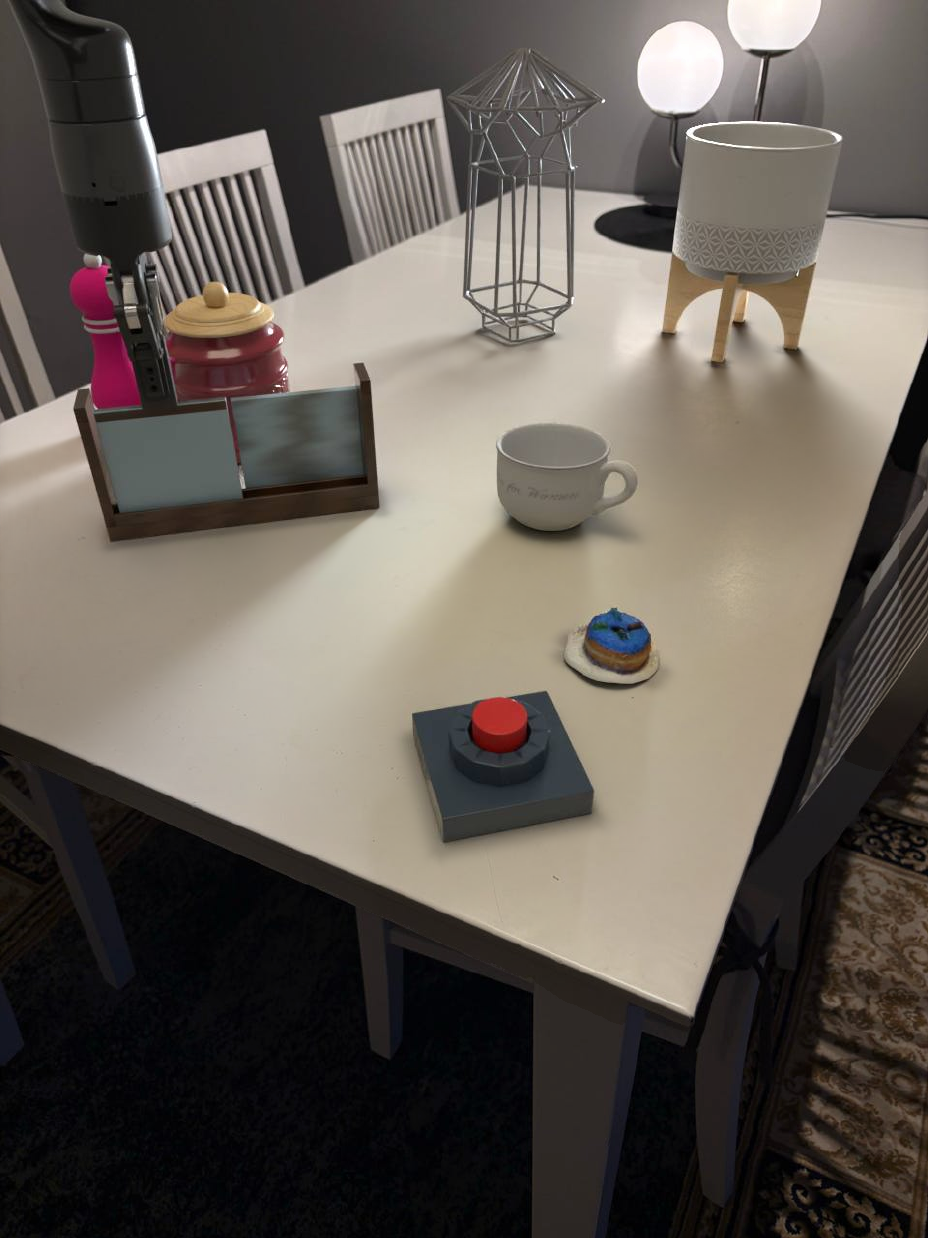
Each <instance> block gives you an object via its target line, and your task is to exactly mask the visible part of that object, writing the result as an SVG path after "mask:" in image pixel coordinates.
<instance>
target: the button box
mask: <svg viewBox="0 0 928 1238" xmlns="http://www.w3.org/2000/svg"><path fill="white" fill-rule="evenodd" d="M505 698H509V699H512V700H514V701H516V702H518V703H519V704H521V705H522V706H523V707H524V709H525V710H526V713H527V732H526V739H525V742H524V743H523V744H522V746H521V747H519V748H518V749H516V750H514V751H512V752H508V753H502V754H498V753H493V752H488V751H485V750H483V749H481V748H480V747H479V746H478V745H477V744H476V743H475V742H474V740H473V737H472V713H473V710H474V708H475V707H476V706H477V705H478V704H479V703H480V702H482V701H484V700H486V699H487V698H484V699H478V700H475V701H473V702H471V703H464V704H458V705H453V706H452V705H451V706H447V707H441V708H435V709H428V710H422V711H416V712H412V713H411V717H412V718H411V722H412V737H413V741H414V743H415V746H416V751H417V755H418V757H419V761H420V765H421V768H422V772H423V775H424V779H425V782H426V786H427V790H428V793H429V796H430V801H431V804H432V807H433V811H434V815H435V818H436V822H437V825H438V829H439V832H440V836H441V839H442V842H444V843H445V842H451V841H455V840H461V839H467V838H471V837H476V836H477V837H478V836H481V835H487V834H491V833H496V832H497V833H498V832H502V831H507V830H513V829H517V828H522V827H527V826H532V825H539V824H543V823H547V822H552V821H553V822H554V821H558V820H564V819H569V818H574V817H578V816H583V815H588V814H591V813H593V805H594V795H595V789H594V787H593V785H592V783H591V781H590V779H589V777H588V775H587V772H586V770H585V768H584V766H583V764H582V762H581V760H580V758H579V755H578V753H577V751H576V749H575V747H574V745H573V743H572V741H571V739H570V737H569V734H568V732H567V730H566V729H565V726H564V724H563V722H562V720H561V718H560V715H559V713H558V711H557V709H556V707H555V705H554V703H553V701H552V699H551V696H550V694H549V692H548V691H547V690H541V691H537V692H530V693H524V694H519V695H513V696H507V697H505Z"/></svg>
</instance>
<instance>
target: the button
mask: <svg viewBox="0 0 928 1238" xmlns="http://www.w3.org/2000/svg"><path fill="white" fill-rule="evenodd" d="M485 699H486V700H484V701H482V702H480V703H479V704H478V705H477V706H476V707H475V708H474V710H473V713H472V737H473V740H474V742H475V743H476V744H477V745H478V746H479V747H480V748H481V749H483V750H485V751H488V752H493V753H498V754H502V753H508V752H512V751H514V750H516V749H518V748H519V747H521V746H522V744H523V743H524V742H525V739H526V732H527V713H526V710H525V709H524V707H523V706H522V705H521V704H519V703H518V702H516V701H514V700H512V699H509V698H506V697H503V696H497V697H490V698H489V697H488V698H485Z"/></svg>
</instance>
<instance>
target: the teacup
mask: <svg viewBox="0 0 928 1238" xmlns="http://www.w3.org/2000/svg"><path fill="white" fill-rule="evenodd" d="M495 448H496V492H497V497H498V500H499V503H500V505H501V507H502V508H503V509H504V510H505V511H506V512H507V513H508V514H509V515H510V516H512V517H513V518H514V519H515V520H516V521H517V522H518V523H520V524H522V525H524V526H526V527H528V528H531V529H533V530H534V529H535V530H538V531H545V532H558V531H567V530H569V529H572V528H574V527H577V526H578V525H580V524H582V522H584V521H586V520H588V519H589V518H591V517H592V516H593V515H601V514H602V513H604V512H605V510H606V509H609V508H613V507H617V506H619V505H621V504H624V503H626V502H627V501H628V500H630V499H631V498H632V497H633V496H634V494H635V493H636V490H637V488H638V484H639V482H638V481H639V480H638V475H637V472H636V470H635V468H634V467H633V466H632V465H631V464H630V463H628V462H627V461H624V460H620V459H615V460H614V459H613V460H610V461H609V456H610V452H611V444H610V441H609V440H608V439H607V438H606V437H605V436H603V435H602V434H600V433H599V432H597V431H595V430H593V429H590V428H587V427H584V426H580V425H575V424H570V423H564V422H561V423H560V422H535V423H528V424H527V423H526V424H523V425H519V426H516V427H512V428H511V429H507V430H505V431H504V432H502V433H501V434H500V435H499V436H498V438H497V439H496V441H495ZM611 473H617V474H619V475H621V476H622V478H623V479H624V483H625V487H624V489H623V490H622V491H621V492H619V493H618V494H616V495H612V496H605V497H604V493H605V488H606V482H607V480H608V477H609V476H610V474H611Z"/></svg>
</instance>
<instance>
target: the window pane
mask: <svg viewBox="0 0 928 1238" xmlns="http://www.w3.org/2000/svg"><path fill="white" fill-rule="evenodd" d="M159 338H160V343H161V348H163V351H164V354H163V362H164V367H165V372H166V376H167V381H168V386H169V391H170V396H169V398H168V399H167V400H162V401H152V402H148V401H146V400H145V399H144V397H143V393H142V388H141V384H140V380H139V375H138V371H137V367H136V362H135V361H133V362H132V366H133V370H134V374H135V379H136V383H137V387H138V392H139V396H140V400H141V405H137V406H127V407H117V408H106V409H97V408H95V410H94V411H93V415H94V419H95V423H96V426H97V430H98V434H99V438H100V441H101V445H102V449H103V453H104V456H105V460H106V464H107V468H108V471H109V475H110V479H111V482H112V486H113V490H114V494H115V497H116V501H117V505H118V509H119V512H120V513H125V512H134V511H142V510H151V509H159V508H167V507H176V506H184V505H193V504H201V503H209V502H218V501H226V500H235V499H243V494H242V489H243V488H242V483H241V478H240V471H239V466H238V463H237V459H236V453H235V448H234V442H233V436H232V430H231V424H230V419H229V413H228V407H227V401H226V397H218V398H208V399H198V400H188V401H178V399H177V394H176V389H175V384H174V379H173V374H172V370H171V365H170V360H169V355H168V350H167V345H166V341H165V334H163V333H162V334H161V335H159ZM136 344H137V345H146V344H149V343H136ZM177 401H178V402H177Z"/></svg>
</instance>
